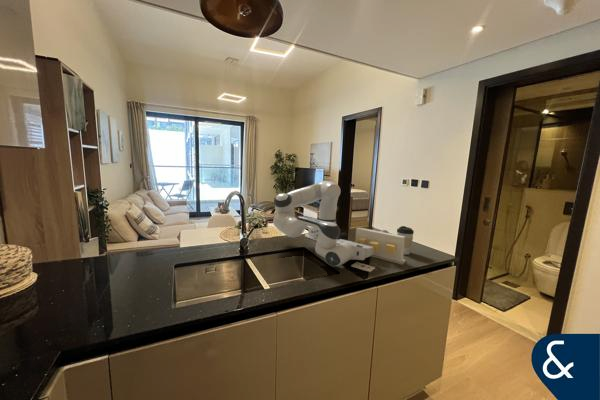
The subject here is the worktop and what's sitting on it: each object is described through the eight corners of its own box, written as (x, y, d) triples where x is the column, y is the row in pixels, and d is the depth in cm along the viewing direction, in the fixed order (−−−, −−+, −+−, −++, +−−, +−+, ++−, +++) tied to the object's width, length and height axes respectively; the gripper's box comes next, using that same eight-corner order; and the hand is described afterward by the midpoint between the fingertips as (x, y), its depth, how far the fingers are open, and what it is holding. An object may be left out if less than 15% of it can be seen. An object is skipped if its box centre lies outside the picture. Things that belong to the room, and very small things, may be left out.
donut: (386, 243, 160) (387, 228, 159) (390, 244, 157) (391, 229, 156) (375, 245, 155) (376, 230, 154) (379, 247, 152) (380, 231, 151)
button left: (356, 245, 137) (356, 238, 136) (362, 242, 143) (362, 236, 142) (363, 247, 135) (363, 240, 134) (368, 244, 140) (369, 237, 140)
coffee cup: (414, 255, 139) (417, 229, 137) (398, 255, 139) (400, 229, 137) (407, 250, 148) (410, 225, 146) (392, 249, 148) (394, 225, 146)
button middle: (368, 249, 131) (369, 242, 130) (374, 246, 136) (374, 239, 136) (376, 251, 128) (376, 244, 128) (381, 248, 134) (381, 241, 133)
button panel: (352, 251, 144) (354, 228, 141) (356, 249, 147) (358, 226, 145) (402, 264, 126) (404, 238, 124) (405, 261, 130) (407, 236, 128)
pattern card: (351, 266, 123) (351, 265, 123) (356, 262, 128) (356, 261, 127) (370, 272, 117) (370, 271, 117) (375, 268, 121) (375, 267, 121)
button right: (385, 252, 128) (386, 245, 127) (390, 248, 133) (390, 241, 133) (393, 254, 125) (393, 246, 125) (397, 250, 131) (398, 243, 130)
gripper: (330, 251, 132) (343, 244, 142) (366, 261, 119) (377, 253, 130) (330, 239, 131) (343, 234, 141) (367, 248, 118) (378, 242, 129)
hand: (360, 243), depth 135 cm, fingers closed
